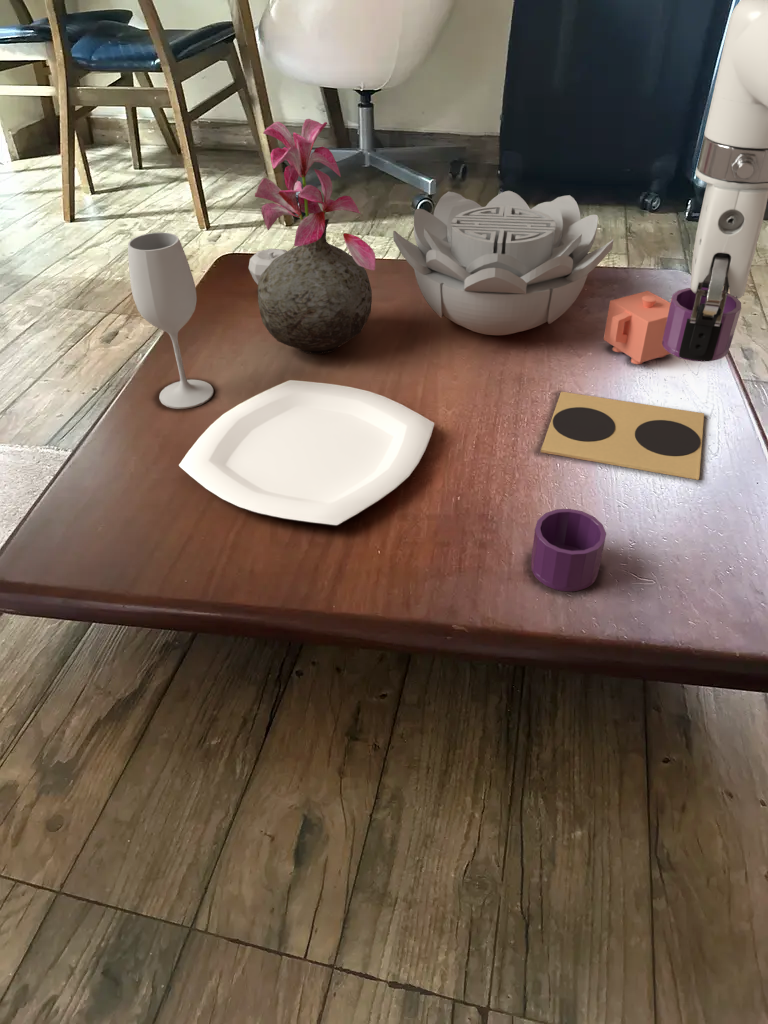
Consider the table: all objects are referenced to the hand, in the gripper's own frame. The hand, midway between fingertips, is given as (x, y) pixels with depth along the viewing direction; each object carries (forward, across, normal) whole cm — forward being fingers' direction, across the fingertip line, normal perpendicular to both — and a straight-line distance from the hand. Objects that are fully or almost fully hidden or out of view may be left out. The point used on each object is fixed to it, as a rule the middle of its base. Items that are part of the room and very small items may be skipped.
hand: (696, 340), depth 81 cm
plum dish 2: (+1, 0, 0) cm, 1 cm away
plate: (+16, -11, +40) cm, 45 cm away
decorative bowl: (+16, +30, +27) cm, 44 cm away
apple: (+16, +31, +65) cm, 74 cm away
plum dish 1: (+16, -21, +8) cm, 28 cm away
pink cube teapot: (+16, +27, +5) cm, 32 cm away
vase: (+16, +16, +50) cm, 55 cm away
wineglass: (+16, -3, +62) cm, 64 cm away
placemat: (+16, +5, +5) cm, 17 cm away
